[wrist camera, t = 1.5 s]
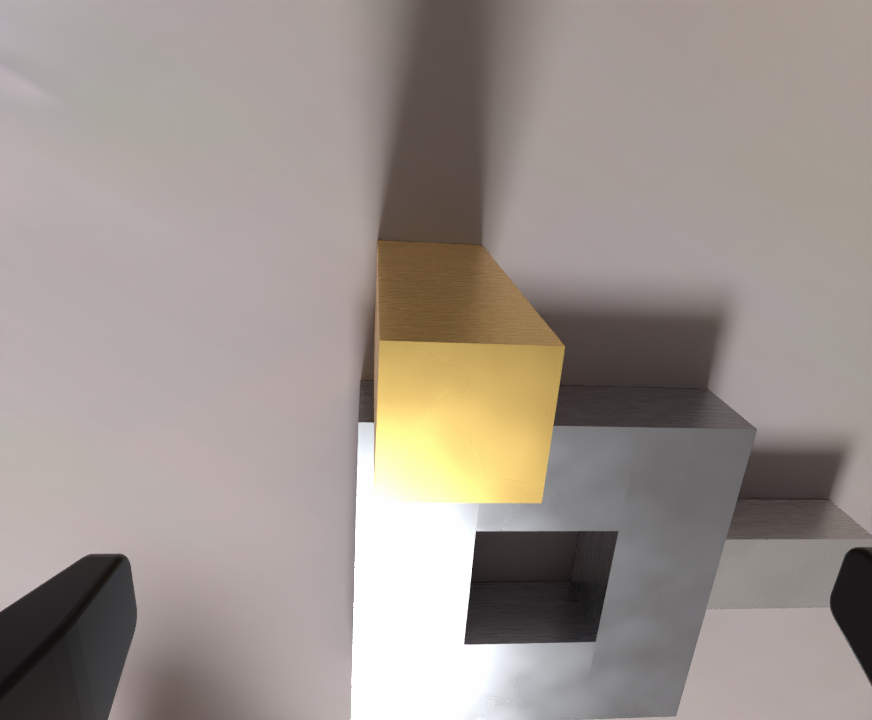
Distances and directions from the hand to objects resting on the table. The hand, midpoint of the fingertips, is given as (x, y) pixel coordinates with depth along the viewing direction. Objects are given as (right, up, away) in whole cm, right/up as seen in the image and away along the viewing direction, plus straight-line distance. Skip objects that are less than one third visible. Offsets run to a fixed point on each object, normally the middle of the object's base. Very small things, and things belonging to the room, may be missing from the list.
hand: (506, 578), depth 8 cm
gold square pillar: (-1, +5, +12) cm, 13 cm away
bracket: (+5, -4, +16) cm, 17 cm away
